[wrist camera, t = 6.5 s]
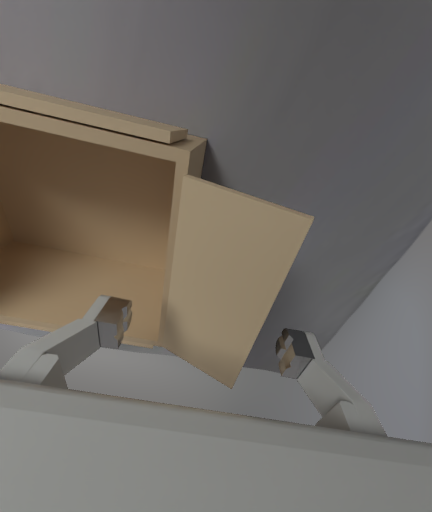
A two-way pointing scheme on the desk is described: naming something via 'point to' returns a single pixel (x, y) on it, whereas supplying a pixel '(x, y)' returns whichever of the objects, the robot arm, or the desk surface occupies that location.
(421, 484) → the robot arm
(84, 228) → the carton
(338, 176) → the desk surface
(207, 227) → the flap
